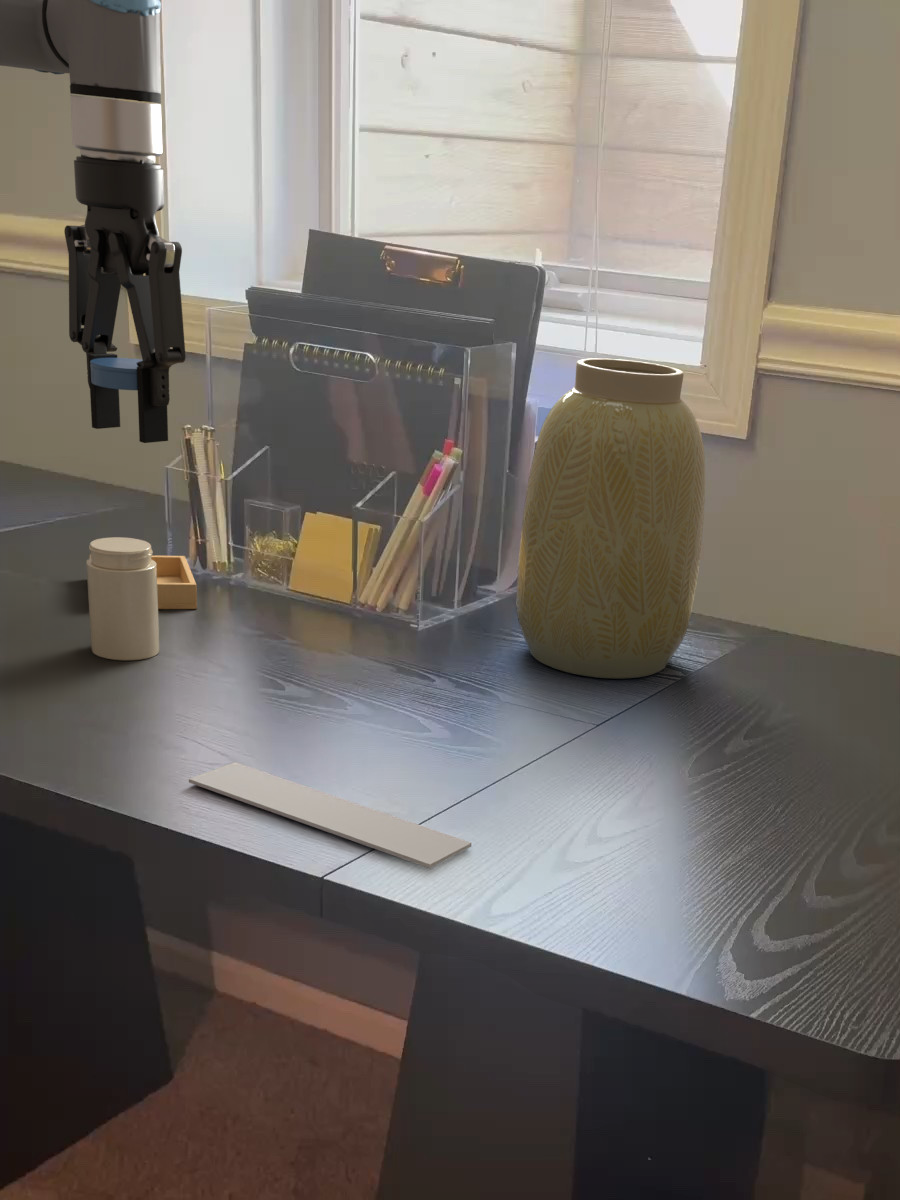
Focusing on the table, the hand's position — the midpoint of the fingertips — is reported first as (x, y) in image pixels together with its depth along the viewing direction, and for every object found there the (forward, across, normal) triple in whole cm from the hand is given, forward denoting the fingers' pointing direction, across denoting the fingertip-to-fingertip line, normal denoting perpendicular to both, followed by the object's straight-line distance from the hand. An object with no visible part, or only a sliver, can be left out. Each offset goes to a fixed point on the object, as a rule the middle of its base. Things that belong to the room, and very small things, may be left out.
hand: (129, 433), depth 138 cm
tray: (+16, +3, -3) cm, 17 cm away
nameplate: (+16, -50, +22) cm, 57 cm away
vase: (+16, -39, -26) cm, 49 cm away
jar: (+16, -11, +10) cm, 22 cm away
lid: (-6, 0, 0) cm, 6 cm away
